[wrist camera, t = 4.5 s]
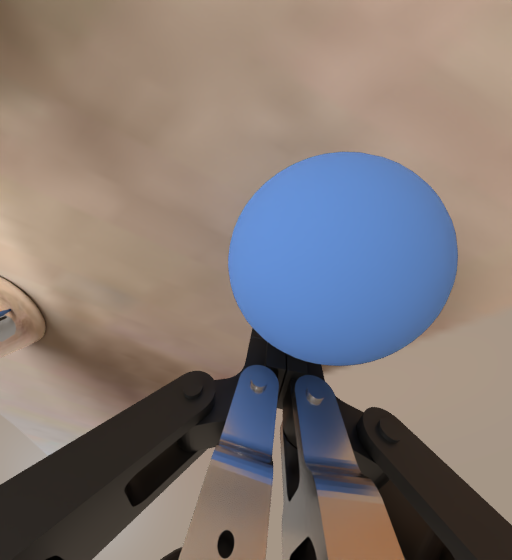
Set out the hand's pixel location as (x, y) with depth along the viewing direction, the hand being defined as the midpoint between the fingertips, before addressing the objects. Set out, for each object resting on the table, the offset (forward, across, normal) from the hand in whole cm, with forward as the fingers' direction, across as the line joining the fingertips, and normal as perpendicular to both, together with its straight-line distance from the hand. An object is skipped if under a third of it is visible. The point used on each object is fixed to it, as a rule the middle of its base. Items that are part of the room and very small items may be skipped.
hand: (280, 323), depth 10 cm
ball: (-2, -1, -4) cm, 5 cm away
